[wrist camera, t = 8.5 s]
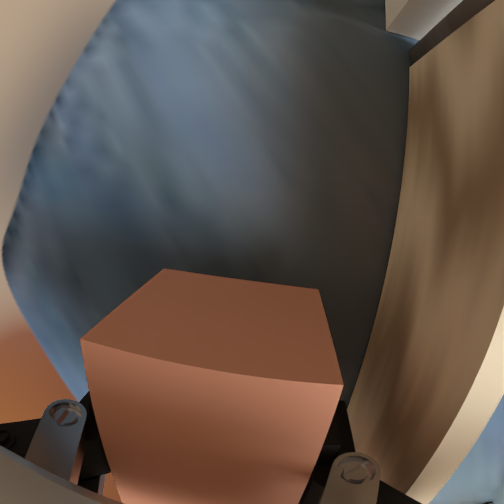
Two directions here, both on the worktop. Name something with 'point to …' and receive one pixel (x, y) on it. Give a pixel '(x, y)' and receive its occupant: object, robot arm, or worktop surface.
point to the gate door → (441, 264)
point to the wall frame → (416, 15)
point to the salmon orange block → (213, 390)
